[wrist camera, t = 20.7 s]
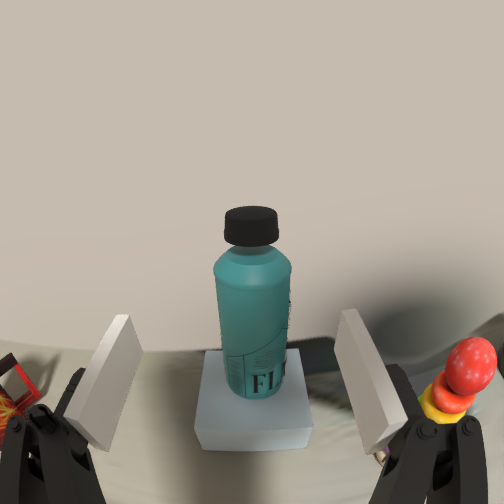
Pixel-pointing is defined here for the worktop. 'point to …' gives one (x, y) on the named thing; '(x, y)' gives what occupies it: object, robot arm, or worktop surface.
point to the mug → (3, 405)
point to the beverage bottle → (253, 302)
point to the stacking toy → (457, 383)
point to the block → (252, 411)
